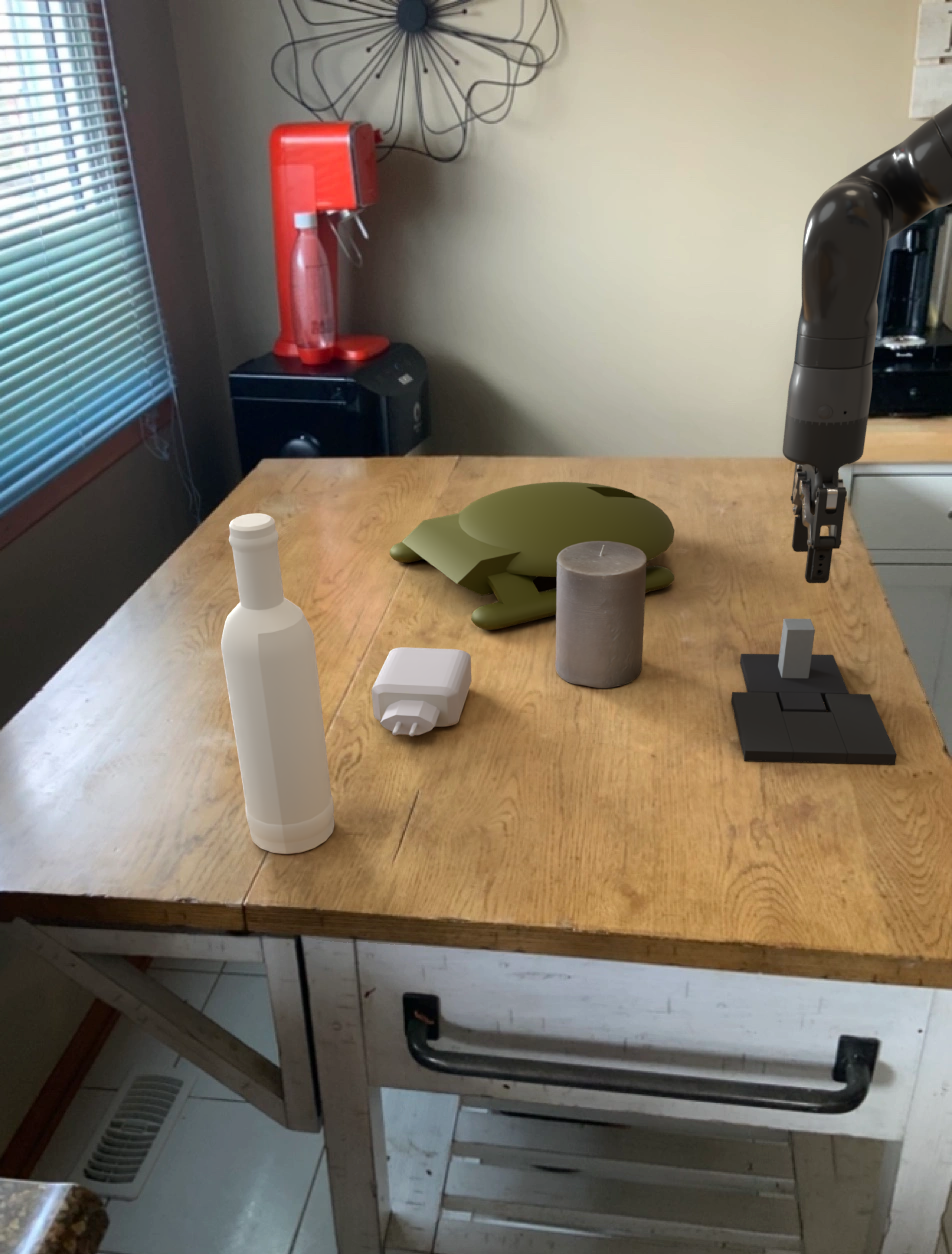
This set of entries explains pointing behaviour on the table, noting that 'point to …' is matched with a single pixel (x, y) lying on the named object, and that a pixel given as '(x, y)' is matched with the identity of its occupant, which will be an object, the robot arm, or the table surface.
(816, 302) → the robot arm
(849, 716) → the pad
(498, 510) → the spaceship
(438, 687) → the charger
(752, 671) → the loose pad
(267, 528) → the bottle
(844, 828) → the table surface
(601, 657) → the pillar candle
